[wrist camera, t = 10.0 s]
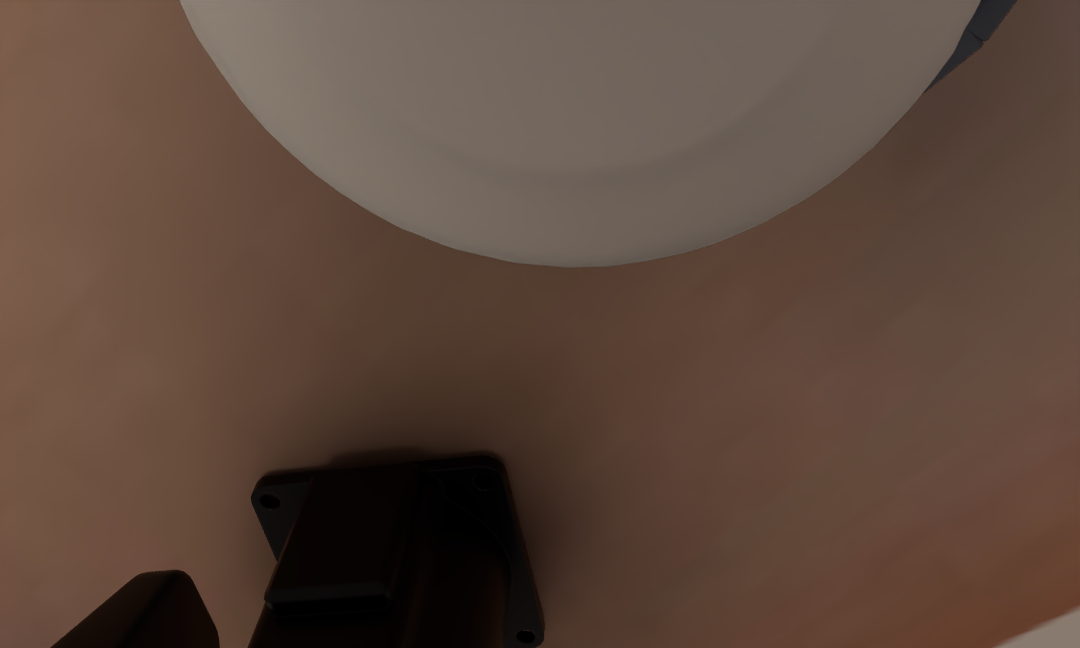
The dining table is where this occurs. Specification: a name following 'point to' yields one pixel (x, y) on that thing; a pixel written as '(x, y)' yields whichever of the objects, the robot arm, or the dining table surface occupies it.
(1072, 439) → the dining table surface
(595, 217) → the sprinkles bottle
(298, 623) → the robot arm
